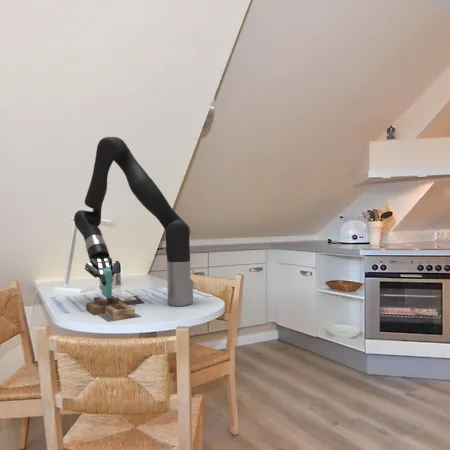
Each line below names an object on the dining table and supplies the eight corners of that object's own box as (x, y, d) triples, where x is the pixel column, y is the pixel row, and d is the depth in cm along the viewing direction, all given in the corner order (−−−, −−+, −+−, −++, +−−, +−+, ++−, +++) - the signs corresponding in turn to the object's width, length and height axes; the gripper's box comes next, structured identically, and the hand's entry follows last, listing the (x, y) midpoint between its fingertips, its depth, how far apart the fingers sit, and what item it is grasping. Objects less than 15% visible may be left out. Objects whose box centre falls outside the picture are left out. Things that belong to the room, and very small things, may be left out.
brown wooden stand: (117, 307, 170) (117, 294, 170) (126, 311, 161) (126, 298, 161) (86, 311, 163) (85, 297, 163) (94, 316, 155) (93, 302, 155)
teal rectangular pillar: (106, 293, 165) (106, 267, 164) (111, 297, 160) (111, 270, 159) (101, 293, 164) (101, 268, 163) (106, 298, 159) (106, 271, 158)
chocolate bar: (122, 305, 171) (114, 297, 187) (122, 307, 171) (114, 299, 187) (145, 302, 174) (135, 295, 191) (145, 305, 174) (135, 297, 191)
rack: (125, 312, 158) (125, 304, 158) (134, 317, 151) (134, 308, 151) (105, 315, 154) (105, 306, 154) (114, 320, 147) (113, 311, 147)
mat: (129, 311, 161) (129, 310, 161) (142, 317, 151) (142, 316, 151) (97, 316, 155) (97, 315, 155) (108, 323, 145) (108, 321, 145)
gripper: (80, 243, 164) (91, 279, 154) (115, 241, 172) (128, 275, 162) (77, 256, 169) (87, 292, 159) (112, 254, 176) (123, 288, 166)
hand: (108, 283), depth 160 cm, fingers closed on teal rectangular pillar, 1 cm apart
